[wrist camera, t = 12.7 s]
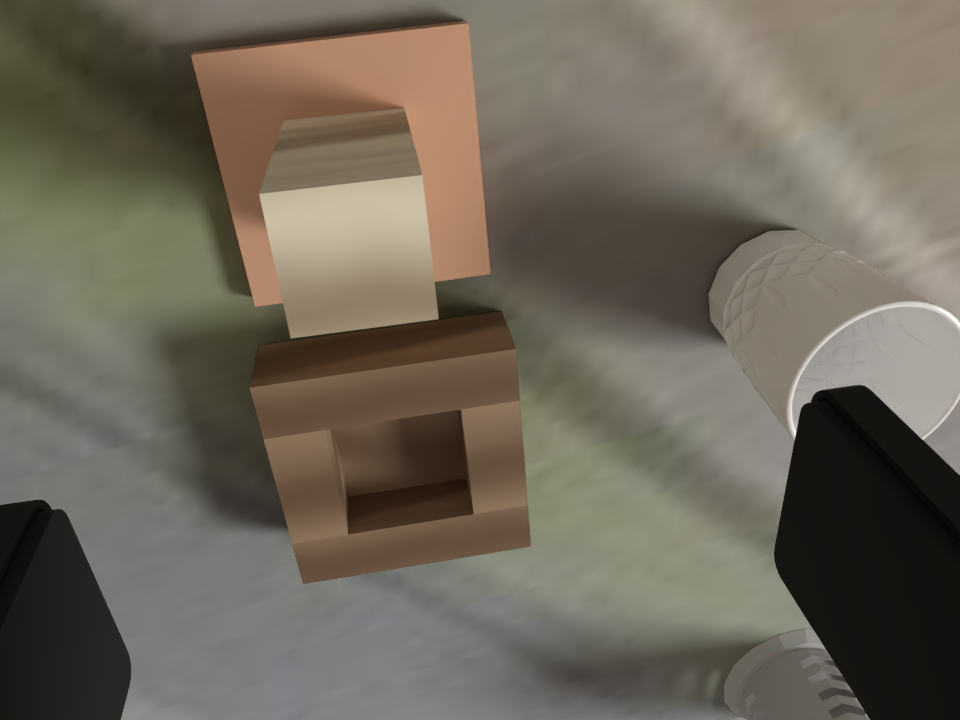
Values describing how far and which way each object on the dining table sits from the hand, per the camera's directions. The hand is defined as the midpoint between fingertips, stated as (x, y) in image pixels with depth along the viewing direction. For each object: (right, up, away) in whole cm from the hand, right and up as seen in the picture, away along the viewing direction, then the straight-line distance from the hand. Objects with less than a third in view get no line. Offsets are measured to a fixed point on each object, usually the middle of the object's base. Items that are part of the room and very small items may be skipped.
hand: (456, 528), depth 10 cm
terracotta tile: (-5, +11, +25) cm, 28 cm away
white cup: (+15, +6, +31) cm, 35 cm away
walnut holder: (-4, -1, +32) cm, 32 cm away
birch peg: (-5, +10, +24) cm, 27 cm away
